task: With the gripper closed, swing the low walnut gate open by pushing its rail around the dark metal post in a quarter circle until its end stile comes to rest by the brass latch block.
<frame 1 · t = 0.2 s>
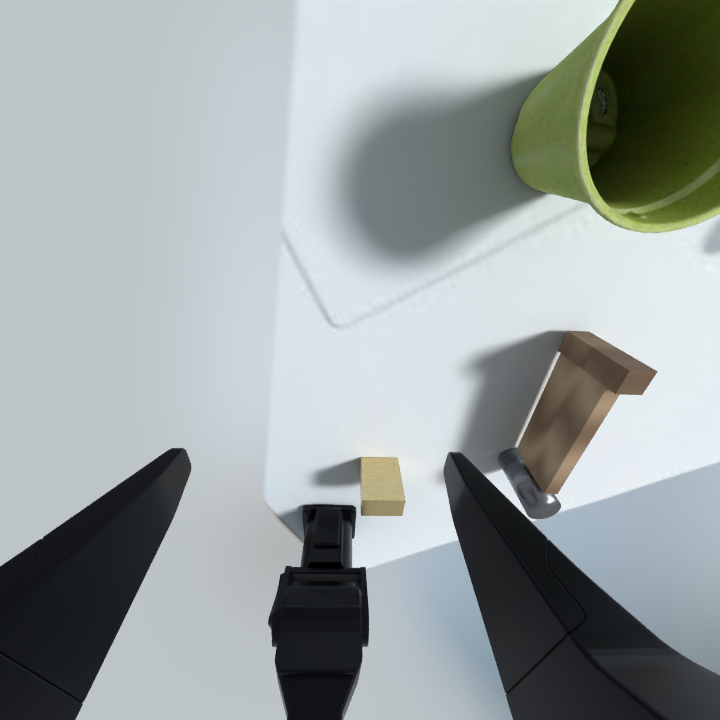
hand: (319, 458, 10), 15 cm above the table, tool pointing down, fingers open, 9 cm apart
swing gate: (567, 420, 24), point 4 cm above the table, hinge at 0.0°
gate post: (512, 457, 31), on the table
latch block: (378, 465, 32), on the table
plant pot: (559, 132, 17), on the table
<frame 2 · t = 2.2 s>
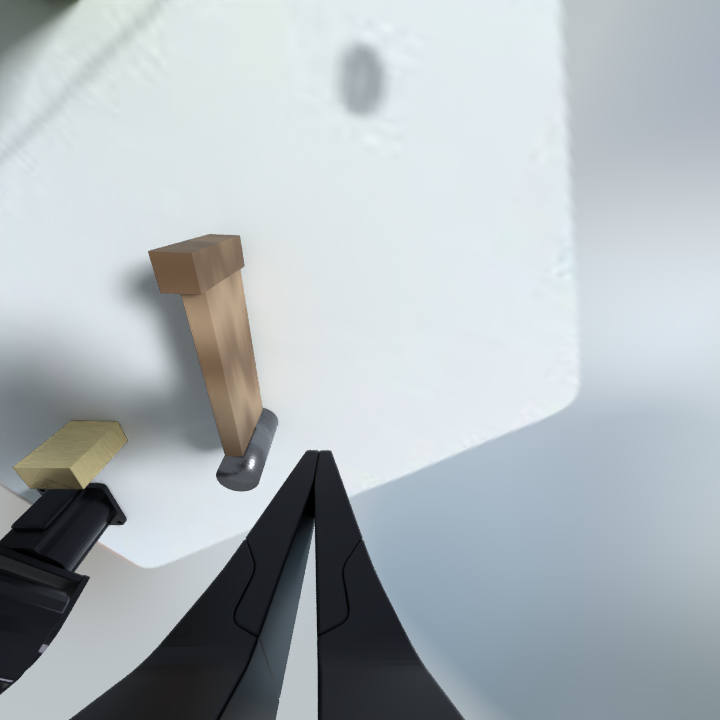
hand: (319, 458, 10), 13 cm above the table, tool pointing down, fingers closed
swing gate: (226, 356, 18), point 4 cm above the table, hinge at 0.0°
gate post: (261, 420, 26), on the table
latch block: (100, 431, 26), on the table
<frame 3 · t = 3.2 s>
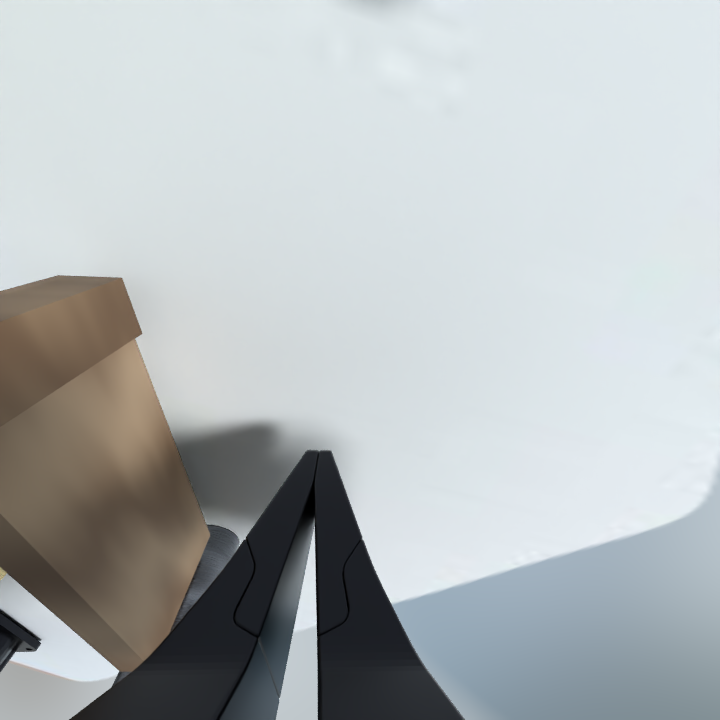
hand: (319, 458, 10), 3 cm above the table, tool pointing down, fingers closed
swing gate: (105, 513, 9), point 4 cm above the table, hinge at 0.0°
gate post: (213, 540, 17), on the table
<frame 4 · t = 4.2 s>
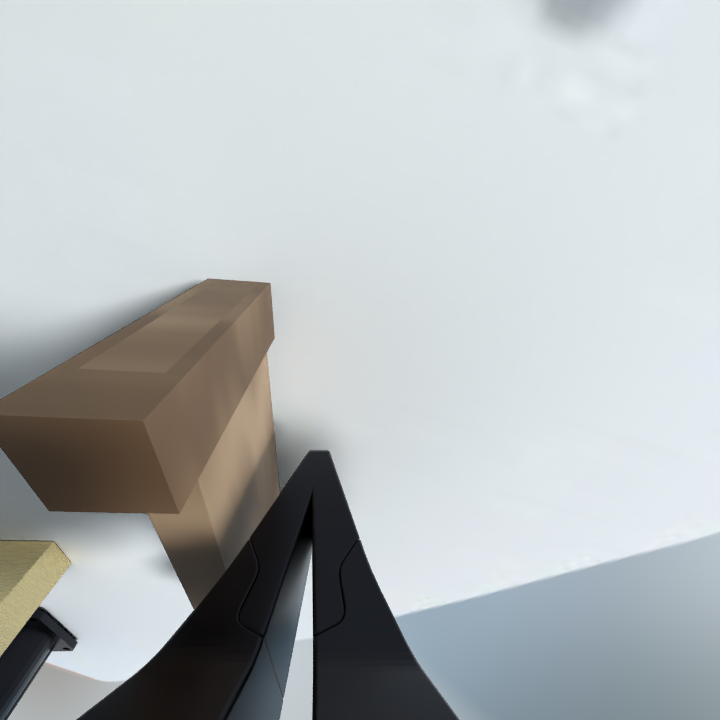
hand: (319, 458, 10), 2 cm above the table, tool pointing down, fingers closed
swing gate: (235, 515, 9), point 4 cm above the table, hinge at 0.0°, touching gripper
latch block: (26, 552, 17), on the table
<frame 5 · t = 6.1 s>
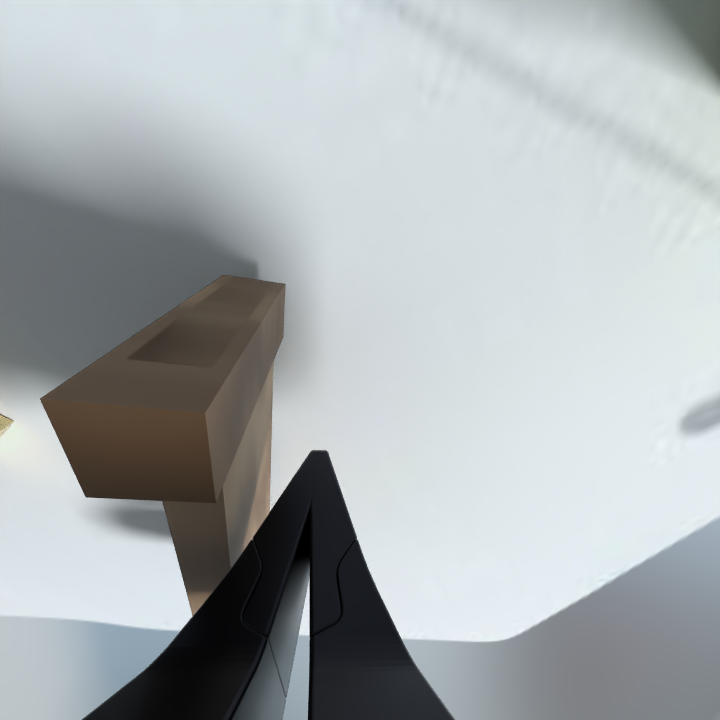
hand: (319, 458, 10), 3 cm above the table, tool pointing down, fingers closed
swing gate: (232, 510, 9), point 4 cm above the table, hinge at 41.5°, touching gripper
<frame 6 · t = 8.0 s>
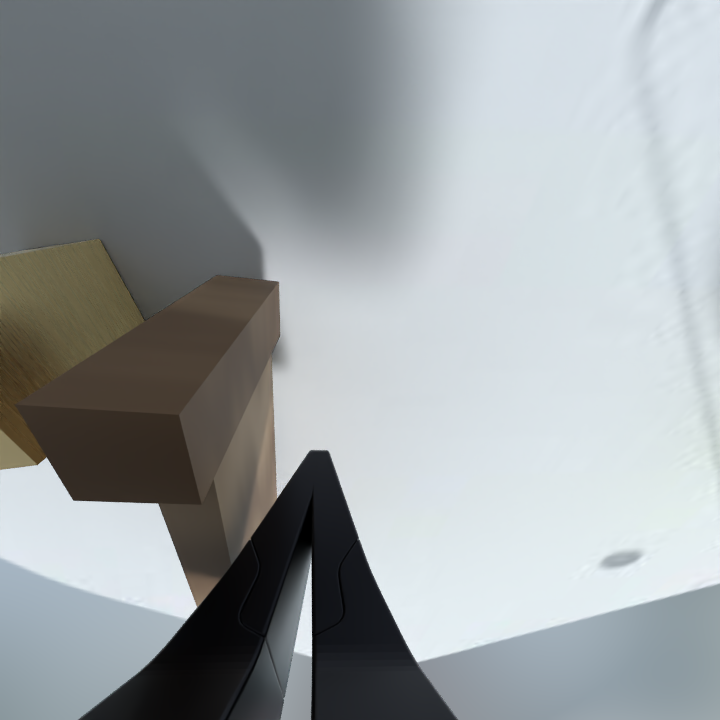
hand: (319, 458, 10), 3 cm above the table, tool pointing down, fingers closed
swing gate: (236, 509, 9), point 4 cm above the table, hinge at 75.6°, touching gripper
latch block: (100, 307, 10), on the table
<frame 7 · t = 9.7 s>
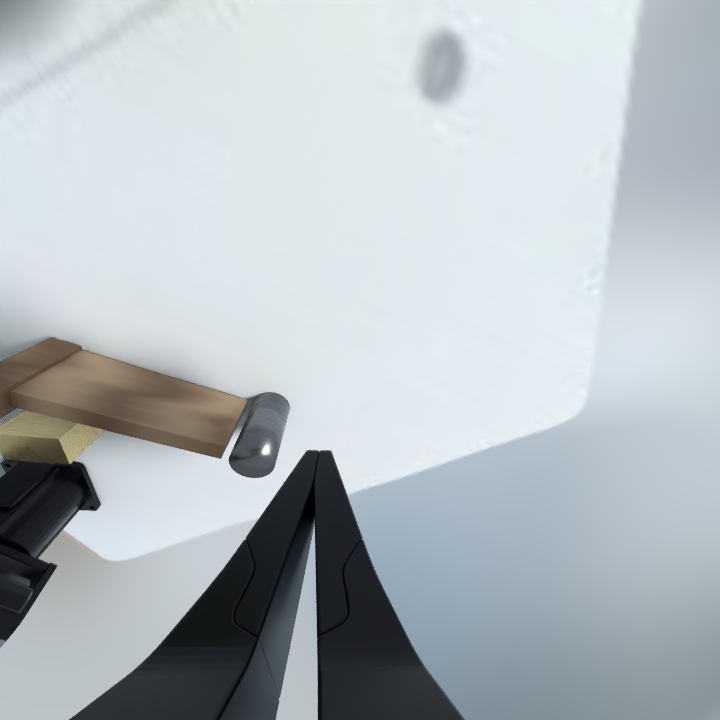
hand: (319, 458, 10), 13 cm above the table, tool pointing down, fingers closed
swing gate: (130, 403, 19), point 4 cm above the table, hinge at 75.6°
gate post: (271, 406, 24), on the table
latch block: (89, 403, 23), on the table
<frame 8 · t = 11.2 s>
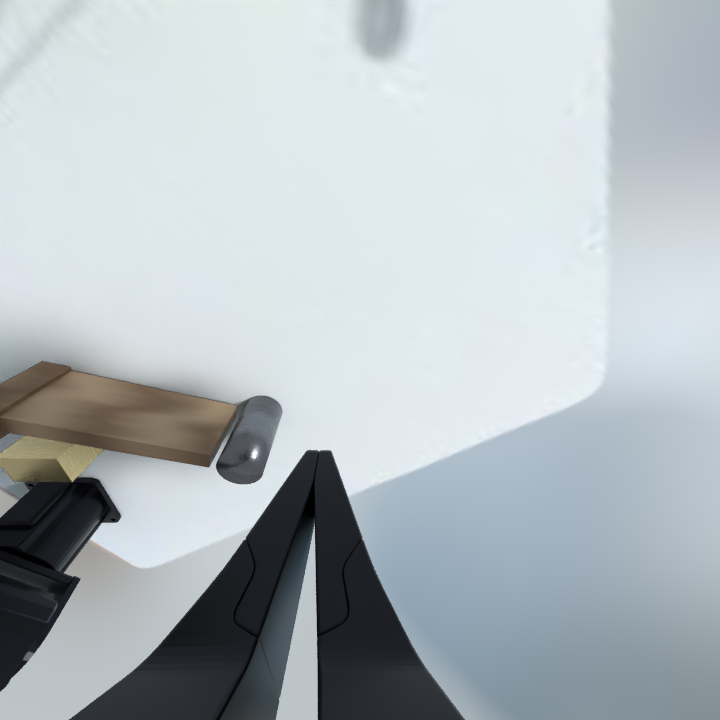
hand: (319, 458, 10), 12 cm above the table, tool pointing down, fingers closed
swing gate: (117, 419, 19), point 4 cm above the table, hinge at 75.6°
gate post: (264, 410, 24), on the table
latch block: (91, 421, 24), on the table
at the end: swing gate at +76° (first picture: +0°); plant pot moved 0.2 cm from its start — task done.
